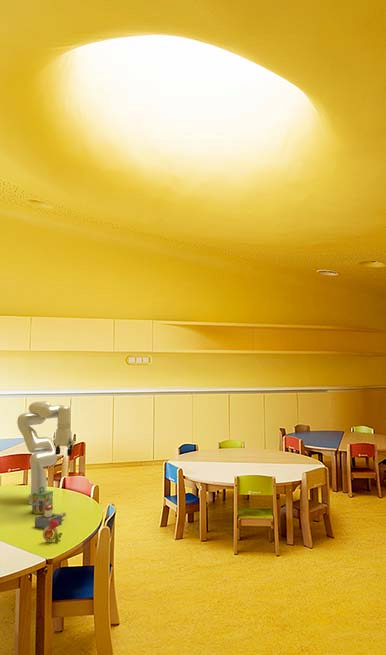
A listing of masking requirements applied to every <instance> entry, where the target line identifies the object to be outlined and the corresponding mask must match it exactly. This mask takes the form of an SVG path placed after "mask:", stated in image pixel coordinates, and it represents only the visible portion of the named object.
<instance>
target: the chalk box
mask: <svg viewBox="0 0 386 655" xmlns="http://www.w3.org/2000/svg"><path fill="white" fill-rule="evenodd" d="M39 489H40V491H38V492H36V493H34V494H32V505H31V506H32V507H31V509H32V511H31V514H32V515H44V514H45V509H44V506H45V505H53V506H54V504H53V503H54V493H53V490H46V491H44V487H43V486H42V487H40V488H39ZM41 489H43V491H41ZM53 510H54V507H53V508H52V511H53Z"/></svg>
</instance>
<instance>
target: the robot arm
mask: <svg viewBox="0 0 386 655" xmlns="http://www.w3.org/2000/svg"><path fill="white" fill-rule="evenodd" d="M55 418H56V419H57V424H56V426H57V428H56V431H55V436H54V437H55V439H53V440H51V438H49V437H48V436H40V437H39V435H38V434H37V431H36V430H35V429H34V428H33V427H32V426H34V425H35V426H36V425H41V424H43V423H44V422H45V421H46V419H55ZM16 422H17V423H16V424H17V427H18V430H19V432H20V433H21V435H22V436H23V437H22V438H23V439H24V442H25V446H26V448H27V450H28V452H29V453H30V454H32V455H30V457H29V465H30V494H29V495H27V498H28V499H29V500H28V501H27V504H28V505H30V506H32V494H34V493H36V492H38V491H40V489H39V488H40V487H42V486H43V487H44V491H47V471H46V470H45V469H44V468H45V467H49V466H53V465H55V464H56V463H57V461H58V456H59V455H60V454H61V447H67V451H66V453H67V454H66V455H67V457H69V456H70V457H71V456H72V455H73V448H74V446H75V444H76V441H75V440H74V439H73V438H72V429H71V407H70V406H69V405H61V404H60V405H59V404H58V405H52V404H51V402H50V401H47V400H46V401H35V402H32V403H30V404H29V406H28V412H24V413H20V414H19V416H18V417H17V421H16ZM41 491H43V489H41Z"/></svg>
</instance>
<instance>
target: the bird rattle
mask: <svg viewBox="0 0 386 655" xmlns="http://www.w3.org/2000/svg"><path fill="white" fill-rule="evenodd" d="M49 524H50V526H48V527H46V528H45V529H43V531H42V538H43V539H44V540H45V542H46V544H47V543H50V542H54V541H55V543H56V544H57V543H59V542H60V539H61V538H62V536H63V532H58V529H57V528H56V527H59V526H60V525H58V520H56V521H54V520H52V521H51V520H50V521H49Z"/></svg>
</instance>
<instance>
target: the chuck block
mask: <svg viewBox="0 0 386 655" xmlns="http://www.w3.org/2000/svg"><path fill="white" fill-rule="evenodd" d="M66 516H67V513H66V512H61V513H60V514H59V513H53V512H52V517H51V518H45V514H40V515H38V516H36V517H34V528H37V529H41V530H44V529H45V528H46V527H48V526H50V524H49V521H50V520H51V521H52V520H54V521H56V520H58V525H59V526H60V525H62V524H63V518H65V517H66Z"/></svg>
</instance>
